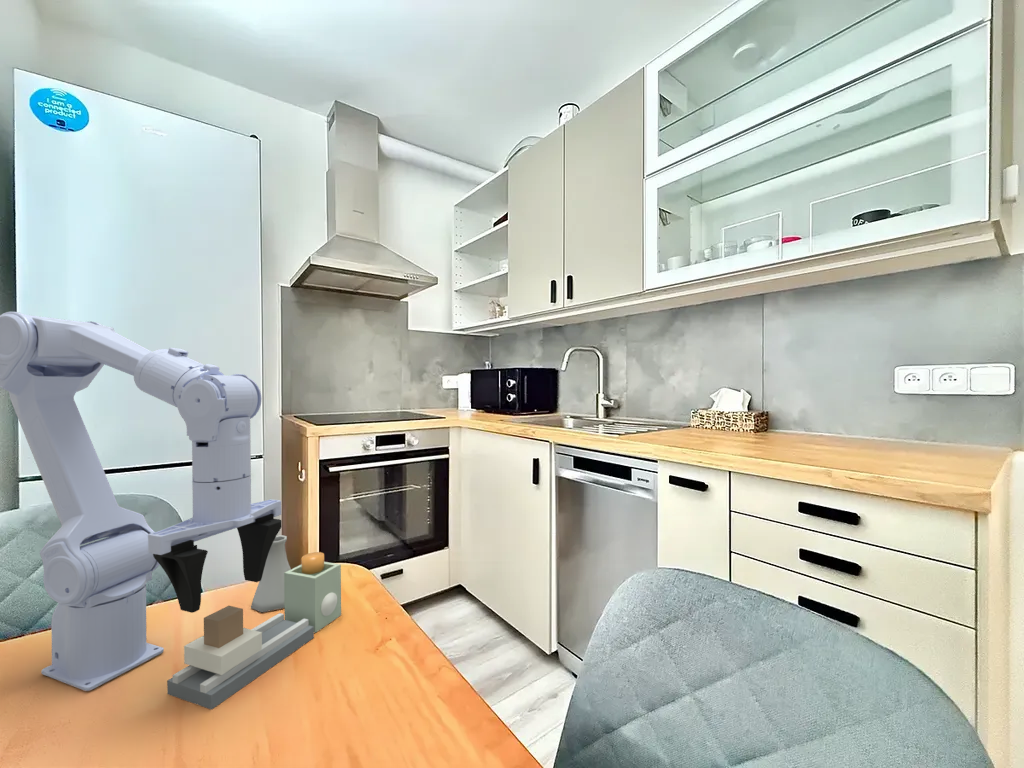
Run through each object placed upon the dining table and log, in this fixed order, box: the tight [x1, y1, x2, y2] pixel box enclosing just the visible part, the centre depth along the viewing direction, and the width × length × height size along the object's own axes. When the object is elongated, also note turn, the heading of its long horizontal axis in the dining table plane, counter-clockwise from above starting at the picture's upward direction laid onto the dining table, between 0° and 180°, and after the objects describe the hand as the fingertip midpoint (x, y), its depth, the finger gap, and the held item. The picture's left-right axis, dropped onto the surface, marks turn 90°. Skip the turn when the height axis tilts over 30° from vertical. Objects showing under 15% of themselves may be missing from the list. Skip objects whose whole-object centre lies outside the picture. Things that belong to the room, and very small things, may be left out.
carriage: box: [183, 605, 262, 675], centre depth 51 cm, size 6×5×5 cm
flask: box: [250, 534, 291, 613], centre depth 70 cm, size 7×7×10 cm
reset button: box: [301, 551, 325, 574], centre depth 64 cm, size 3×3×2 cm
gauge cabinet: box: [284, 561, 342, 634], centre depth 64 cm, size 6×5×8 cm
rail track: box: [166, 612, 315, 710], centre depth 54 cm, size 7×14×2 cm, turn 160°
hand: (223, 594), depth 51 cm, fingers open, 7 cm apart
